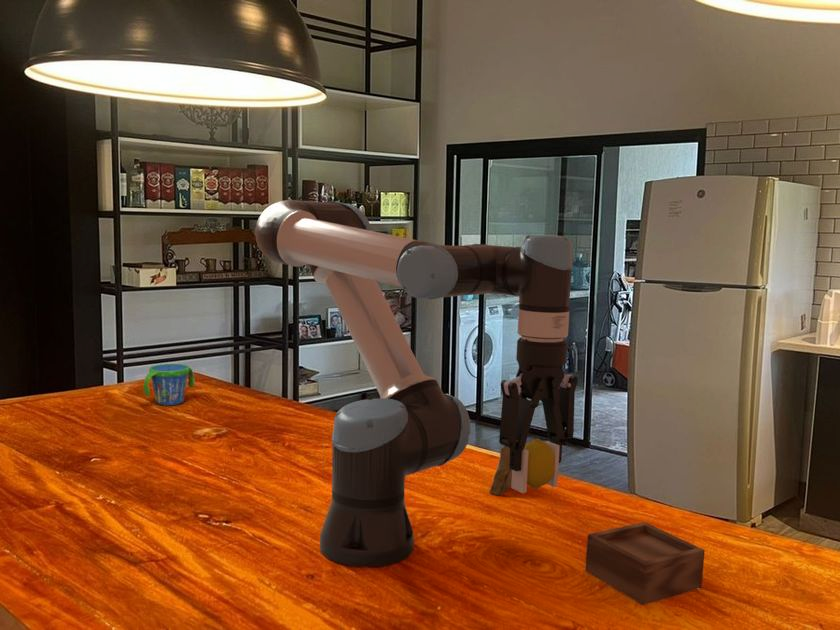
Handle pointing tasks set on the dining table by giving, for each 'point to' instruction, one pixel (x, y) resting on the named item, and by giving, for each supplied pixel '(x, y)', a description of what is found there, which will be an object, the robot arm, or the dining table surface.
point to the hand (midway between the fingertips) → (534, 486)
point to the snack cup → (169, 383)
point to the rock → (502, 473)
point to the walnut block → (644, 562)
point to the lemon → (539, 463)
